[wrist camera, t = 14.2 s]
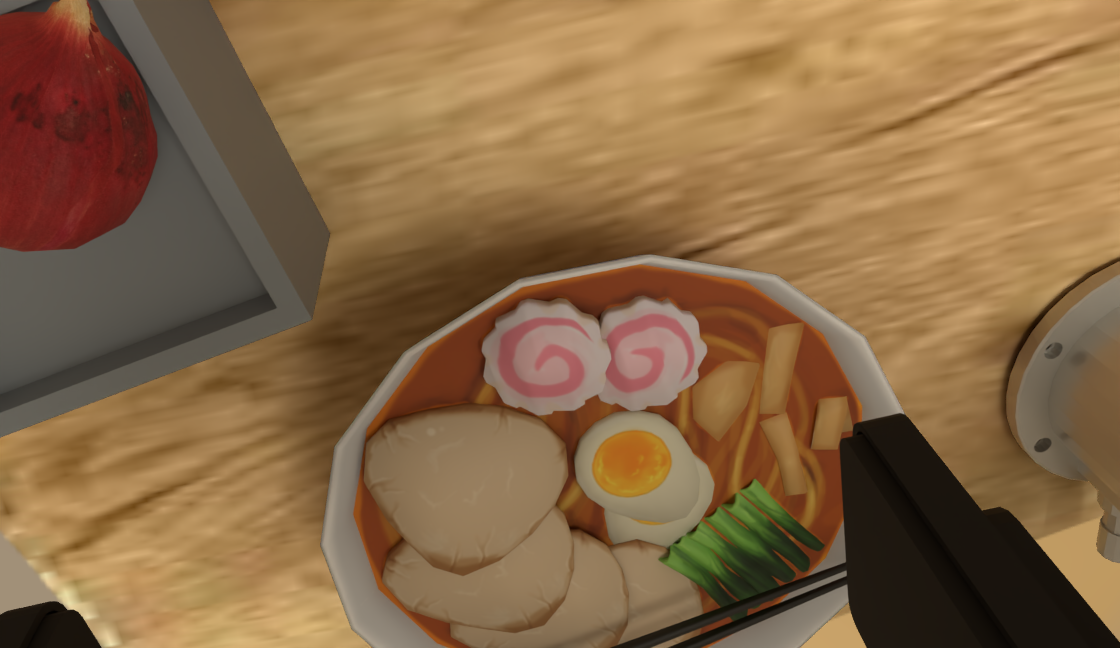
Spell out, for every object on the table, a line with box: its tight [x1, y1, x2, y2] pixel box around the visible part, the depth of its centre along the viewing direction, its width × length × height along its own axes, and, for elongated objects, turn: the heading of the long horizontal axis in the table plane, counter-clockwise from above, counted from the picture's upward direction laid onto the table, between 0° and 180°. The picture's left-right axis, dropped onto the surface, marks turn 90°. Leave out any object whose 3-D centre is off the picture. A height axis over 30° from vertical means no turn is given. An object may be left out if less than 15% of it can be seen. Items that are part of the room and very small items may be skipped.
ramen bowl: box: [320, 255, 905, 648], centre depth 38 cm, size 25×23×8 cm
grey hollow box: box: [0, 0, 330, 437], centre depth 30 cm, size 12×12×8 cm
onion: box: [0, 0, 158, 252], centre depth 24 cm, size 6×6×8 cm
